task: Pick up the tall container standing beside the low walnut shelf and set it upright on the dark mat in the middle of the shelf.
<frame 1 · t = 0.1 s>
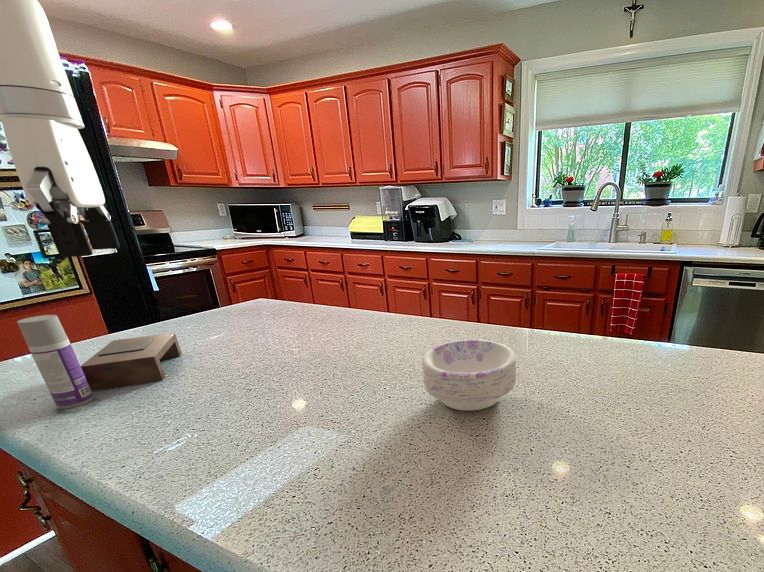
hand: (93, 252, 56), 25 cm above the countertop, tool pointing down, fingers open, 9 cm apart
paper bowls: (470, 398, 67), on the countertop
container: (76, 403, 68), on the countertop
shelf: (140, 370, 81), on the countertop
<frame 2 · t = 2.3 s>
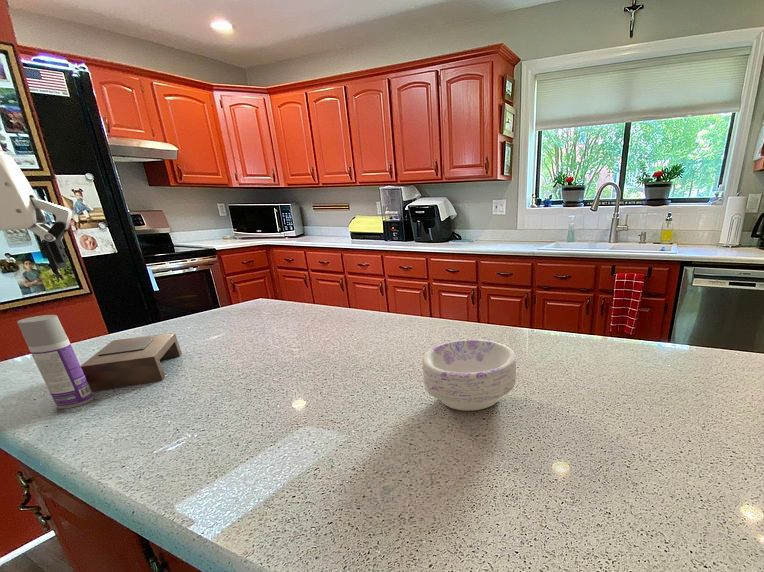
hand: (18, 270, 60), 23 cm above the countertop, tool pointing down, fingers open, 9 cm apart
nothing on the countertop moved.
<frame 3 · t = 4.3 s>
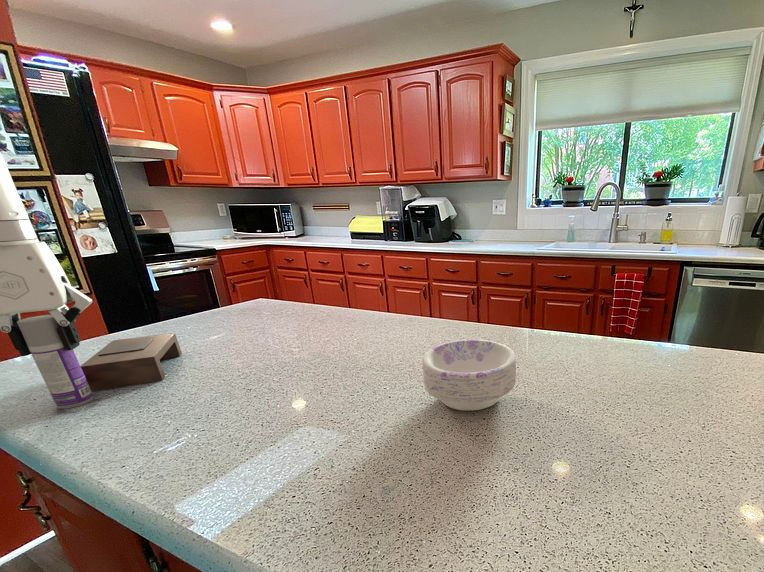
hand: (51, 349, 65), 10 cm above the countertop, tool pointing down, fingers closed on container, 4 cm apart
container: (76, 403, 68), on the countertop, touching gripper
everything else where it was.
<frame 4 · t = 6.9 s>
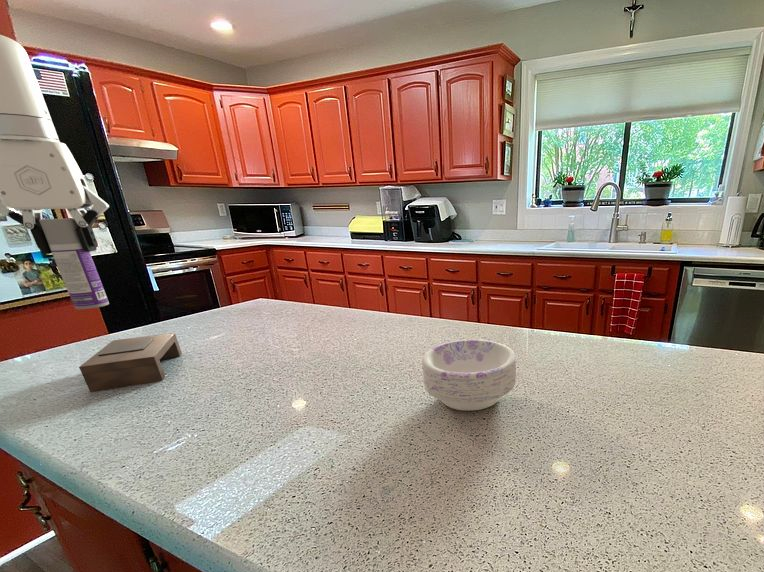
hand: (70, 250, 69), 24 cm above the countertop, tool pointing down, fingers closed on container, 4 cm apart
container: (93, 307, 72), point 14 cm above the countertop, touching gripper
everything else where it was.
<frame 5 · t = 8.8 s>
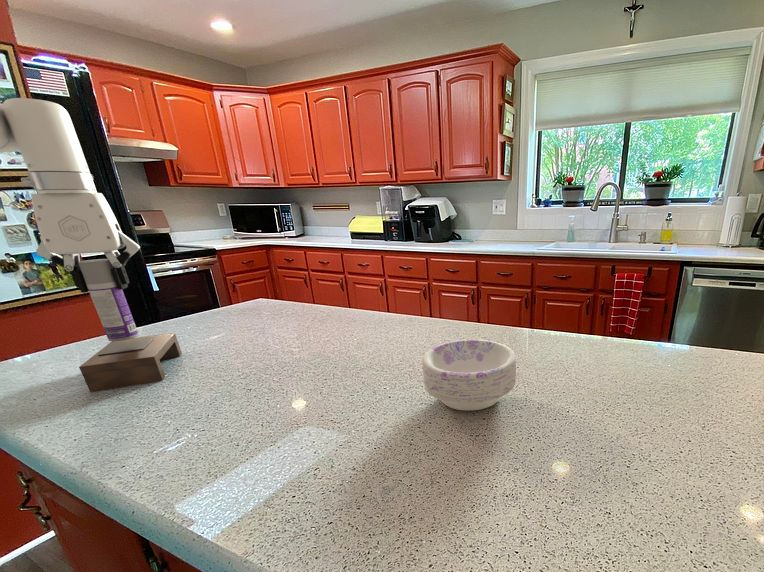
hand: (105, 288, 75), 17 cm above the countertop, tool pointing down, fingers closed on container, 4 cm apart
container: (124, 338, 79), point 7 cm above the countertop, touching gripper
everything else where it was.
when the fingers open (15 cm above the countertop, at t = 9.8 s): container stays where it is, resting on shelf.
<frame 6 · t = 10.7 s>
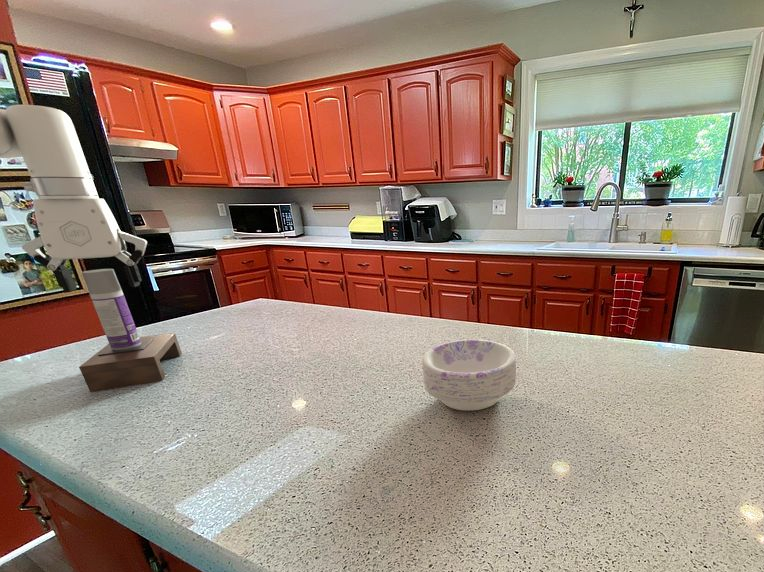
hand: (104, 288, 75), 17 cm above the countertop, tool pointing down, fingers open, 9 cm apart
container: (127, 347, 79), point 5 cm above the countertop, touching shelf
everything else where it was.
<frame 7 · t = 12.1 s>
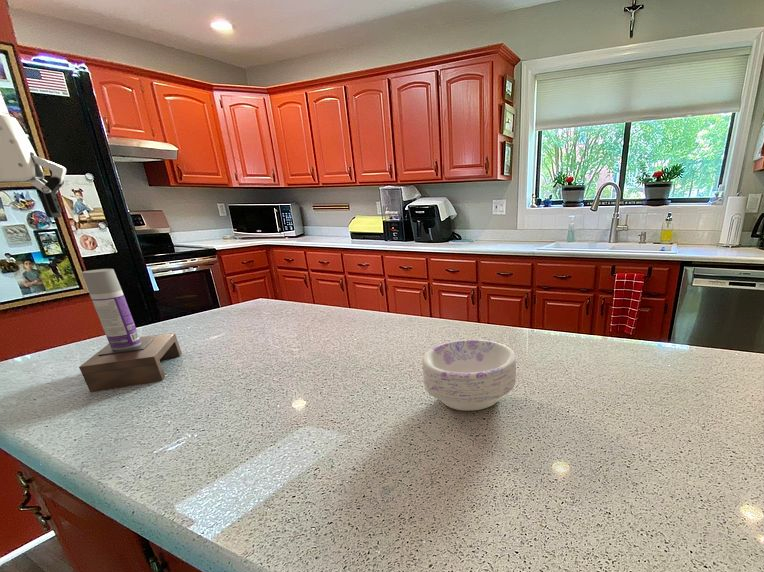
hand: (18, 217, 70), 30 cm above the countertop, tool pointing down, fingers open, 9 cm apart
nothing on the countertop moved.
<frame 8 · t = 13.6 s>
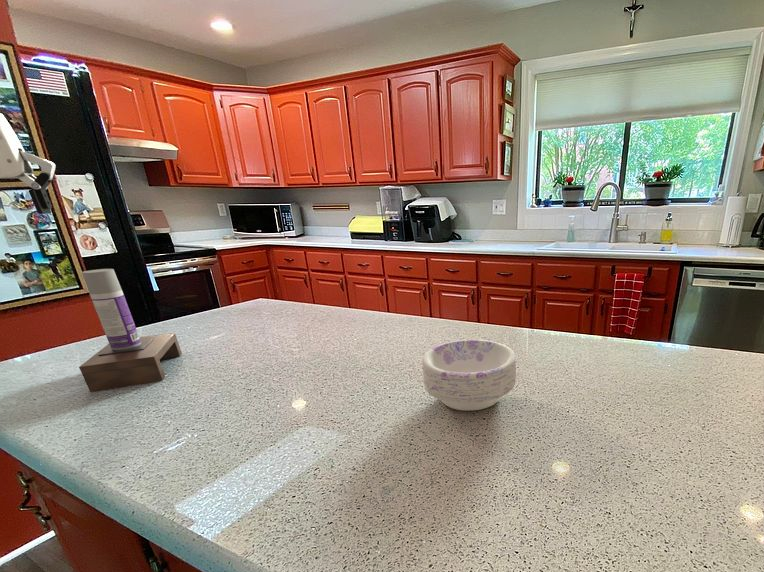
hand: (9, 214, 70), 30 cm above the countertop, tool pointing down, fingers open, 9 cm apart
nothing on the countertop moved.
at the end: container 0.1 cm from the target spot, point 5.0 cm above the countertop; container tilted 0°; the gripper is holding nothing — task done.
